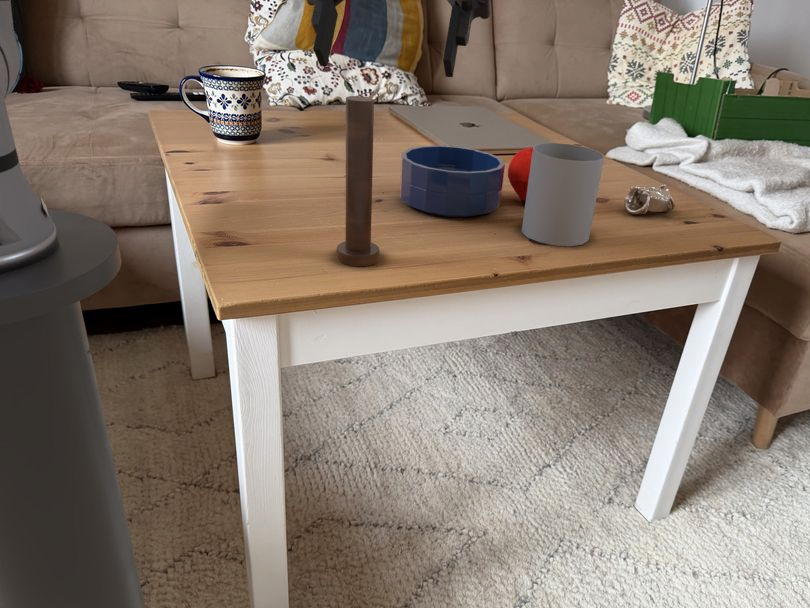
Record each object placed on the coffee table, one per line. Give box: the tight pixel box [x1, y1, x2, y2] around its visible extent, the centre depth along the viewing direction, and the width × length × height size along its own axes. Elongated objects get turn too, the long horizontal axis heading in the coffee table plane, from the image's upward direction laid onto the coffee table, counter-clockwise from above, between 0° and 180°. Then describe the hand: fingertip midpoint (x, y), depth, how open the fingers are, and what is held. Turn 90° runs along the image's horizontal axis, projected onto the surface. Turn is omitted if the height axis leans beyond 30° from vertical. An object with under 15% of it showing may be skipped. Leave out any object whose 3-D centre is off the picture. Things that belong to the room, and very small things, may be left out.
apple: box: [507, 146, 533, 203], centre depth 92 cm, size 8×8×7 cm
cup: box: [521, 142, 605, 247], centre depth 80 cm, size 8×8×10 cm
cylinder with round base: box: [336, 95, 380, 267], centre depth 66 cm, size 4×4×16 cm
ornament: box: [623, 183, 676, 216], centre depth 94 cm, size 8×7×4 cm
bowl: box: [399, 145, 506, 218], centre depth 88 cm, size 13×13×6 cm
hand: (383, 63), depth 70 cm, fingers open, 13 cm apart
